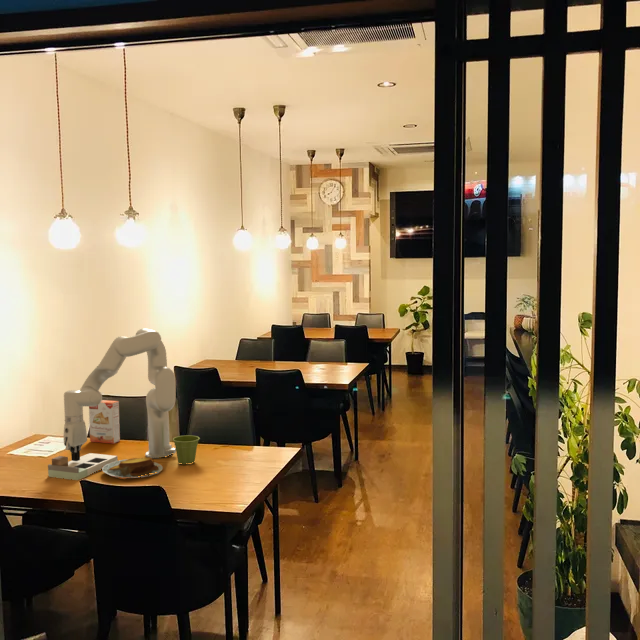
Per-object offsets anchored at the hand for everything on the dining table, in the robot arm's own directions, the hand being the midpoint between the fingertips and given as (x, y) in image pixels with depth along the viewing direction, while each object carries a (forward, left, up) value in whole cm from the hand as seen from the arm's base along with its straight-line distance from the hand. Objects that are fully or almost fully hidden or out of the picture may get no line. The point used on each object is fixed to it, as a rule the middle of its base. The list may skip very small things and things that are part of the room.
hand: (75, 460), depth 288 cm
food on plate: (-26, -4, -5) cm, 27 cm away
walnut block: (+1, +9, -1) cm, 9 cm away
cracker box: (+18, -43, -4) cm, 46 cm away
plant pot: (-41, -24, -4) cm, 48 cm away
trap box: (-4, -1, -4) cm, 5 cm away
